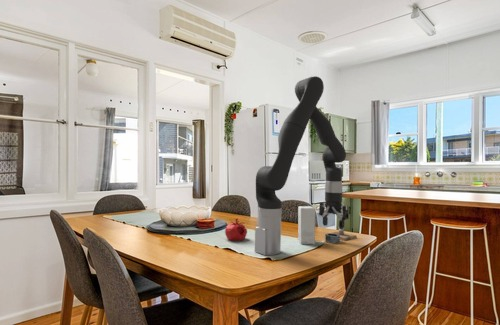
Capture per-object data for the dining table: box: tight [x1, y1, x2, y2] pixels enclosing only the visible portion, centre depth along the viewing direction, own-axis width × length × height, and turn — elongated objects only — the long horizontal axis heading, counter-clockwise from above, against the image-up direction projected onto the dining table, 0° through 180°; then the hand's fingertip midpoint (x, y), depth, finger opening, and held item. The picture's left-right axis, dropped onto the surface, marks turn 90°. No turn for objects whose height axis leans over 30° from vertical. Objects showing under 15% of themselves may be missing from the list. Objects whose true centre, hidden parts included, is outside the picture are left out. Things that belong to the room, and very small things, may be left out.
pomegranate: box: [224, 217, 248, 242], centre depth 138 cm, size 10×10×9 cm
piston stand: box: [332, 227, 357, 242], centre depth 148 cm, size 10×10×5 cm
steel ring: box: [324, 232, 341, 245], centre depth 138 cm, size 6×6×3 cm
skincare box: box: [297, 205, 316, 245], centre depth 136 cm, size 8×7×16 cm
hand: (333, 227), depth 139 cm, fingers open, 8 cm apart
